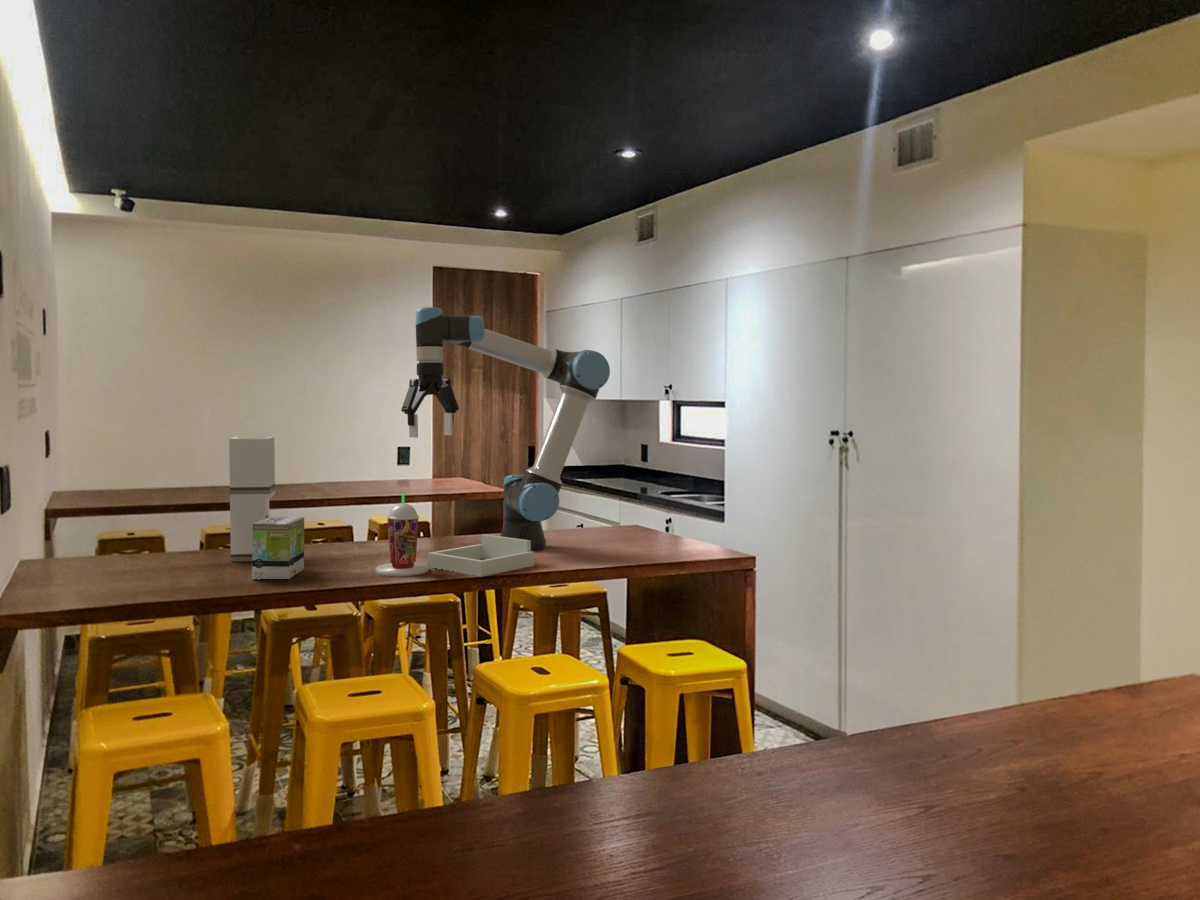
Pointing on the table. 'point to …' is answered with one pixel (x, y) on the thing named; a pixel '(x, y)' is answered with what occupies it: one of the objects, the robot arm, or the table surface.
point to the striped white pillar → (249, 490)
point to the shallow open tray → (485, 556)
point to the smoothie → (402, 535)
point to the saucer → (402, 570)
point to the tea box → (277, 547)
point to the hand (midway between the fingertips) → (431, 436)
